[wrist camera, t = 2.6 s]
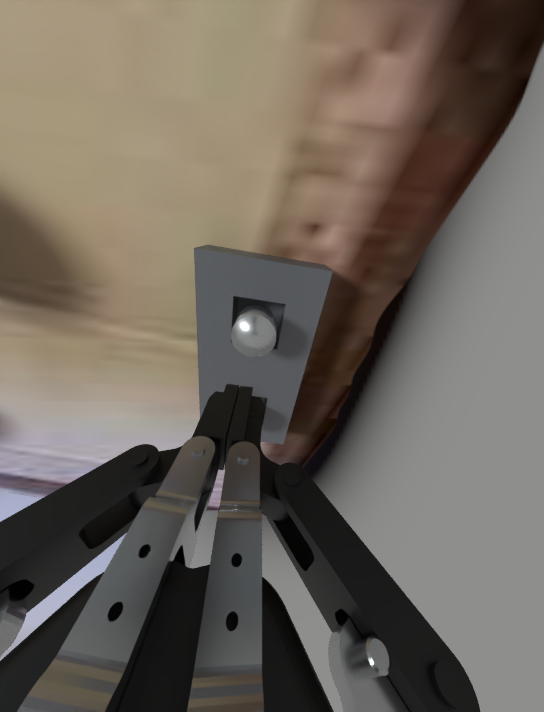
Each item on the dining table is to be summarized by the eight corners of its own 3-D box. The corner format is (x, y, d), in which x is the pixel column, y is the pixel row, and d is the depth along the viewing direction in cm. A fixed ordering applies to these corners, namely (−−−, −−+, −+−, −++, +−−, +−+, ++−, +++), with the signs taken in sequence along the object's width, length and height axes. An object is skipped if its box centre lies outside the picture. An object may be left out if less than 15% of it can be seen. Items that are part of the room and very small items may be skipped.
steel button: (238, 301, 20) (232, 312, 17) (279, 308, 20) (279, 320, 18) (235, 339, 22) (229, 353, 19) (273, 344, 22) (272, 359, 20)
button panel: (208, 244, 21) (194, 247, 18) (324, 265, 22) (332, 271, 18) (208, 412, 33) (200, 433, 30) (282, 422, 34) (283, 444, 31)
